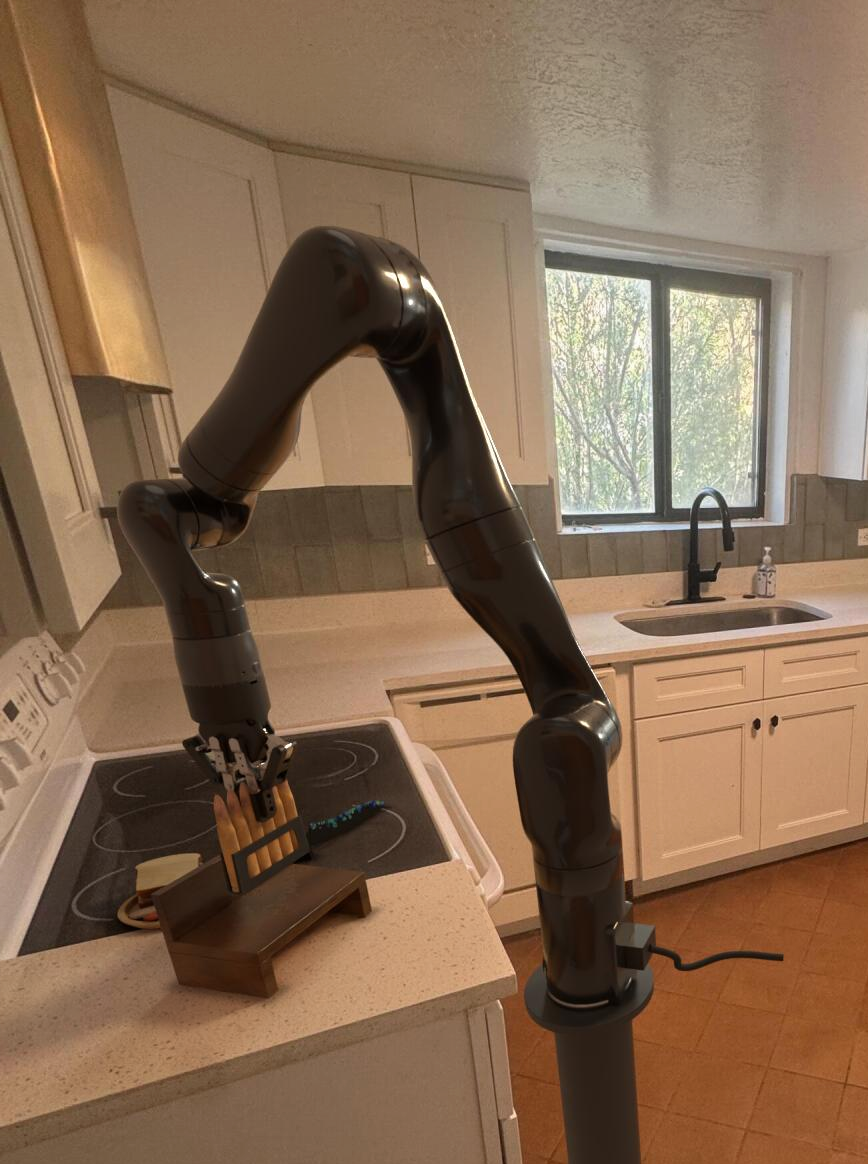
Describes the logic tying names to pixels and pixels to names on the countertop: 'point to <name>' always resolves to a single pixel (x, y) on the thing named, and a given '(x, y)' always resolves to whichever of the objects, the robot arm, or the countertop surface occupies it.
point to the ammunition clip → (257, 838)
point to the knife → (340, 823)
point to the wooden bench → (247, 922)
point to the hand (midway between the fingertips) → (258, 817)
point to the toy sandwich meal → (154, 887)
